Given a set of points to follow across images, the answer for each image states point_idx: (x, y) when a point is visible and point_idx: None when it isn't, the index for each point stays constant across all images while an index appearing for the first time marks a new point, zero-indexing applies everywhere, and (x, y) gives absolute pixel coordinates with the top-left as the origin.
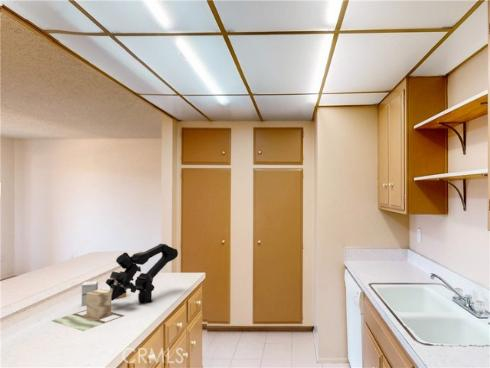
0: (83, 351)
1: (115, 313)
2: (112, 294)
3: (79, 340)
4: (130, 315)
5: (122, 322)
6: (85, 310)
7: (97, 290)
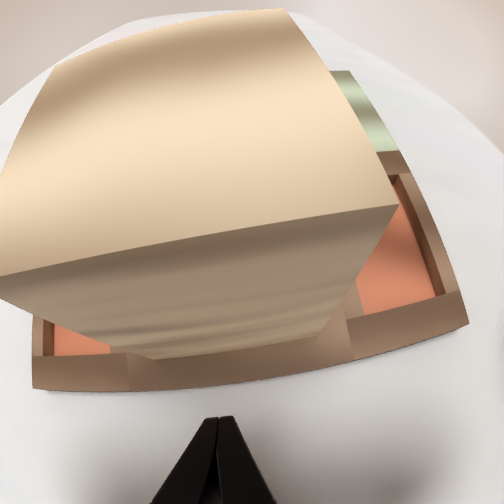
0: (6, 123)
1: (123, 382)
2: (234, 478)
3: None
4: (72, 457)
5: (19, 331)
6: (433, 244)
7: (298, 97)
